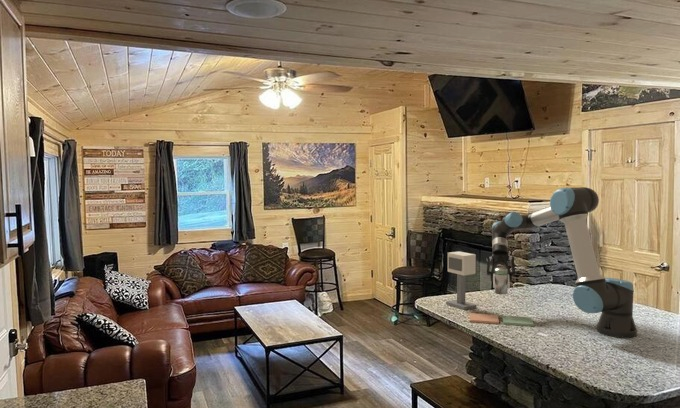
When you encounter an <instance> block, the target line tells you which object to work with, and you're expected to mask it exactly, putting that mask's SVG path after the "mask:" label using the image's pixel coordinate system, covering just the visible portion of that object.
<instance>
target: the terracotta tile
mask: <svg viewBox="0 0 680 408" xmlns="http://www.w3.org/2000/svg"><path fill="white" fill-rule="evenodd" d="M469 323H479V324H495V325H499V323H500V320H499V315H498V314H487V313H486V314H483V313H471V312H470V313H469Z"/></svg>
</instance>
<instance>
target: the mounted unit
mask: <svg viewBox="0 0 680 408" xmlns="http://www.w3.org/2000/svg"><path fill="white" fill-rule="evenodd" d="M476 257H477V255H476V254H475V253H469V252H463V251H451V252H447V272H448V273H451V274H456V299H452V300H447V301H446V302H445V305H447V306H451V307H453V308H456V309H460V310H461V311H466V310H472V309H476V308H477V306H478V305H477V304H476V303H472V302H469V301H466V282H467V281H466V278H467V276H470V275H476V263H477V261H476Z"/></svg>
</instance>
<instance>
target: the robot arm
mask: <svg viewBox="0 0 680 408" xmlns="http://www.w3.org/2000/svg"><path fill="white" fill-rule="evenodd" d="M599 202H600V199H599V195H598V193H597V192H596V191H595V190H594V189H591V188H590V187H586V186H584V187H568V186H567V187H562V188H557V189H556V190H554V192H553V193H552V195H551V197H550V201H549V206H547V207H545V208H542V209H539V210H537V211H534V212H532V213H528V214H520V213H519V212H516V211H511V212H509V213H508V214H507V215H505V217H504V218H503V219H501V220H500V221H496V222H493V224H492V227H491V244H492V246H491V249H492V251H491V252H492V255H491V256H486V262H487V263H486V276H490V281H491V282H492V283H493V284H492V287H493V289H495V268H497V266H498V265H503V267H504V268H507V269H508V281H507V290H508V289H510V288H511V284H510V283H512V281H513V278H512V277H515V276H516V267H515V257H514V256H512V257H511V256H509V248H508V247H509V246H508V243H509V242H508V236H510V234H512V232H514V231H521V230H535V229H540V228H541V226H544V225H546V224H550V223H554V222H555V221H559V222H561V223H562V224H564V227H565V230H566V235H567V239H568V243H569V247H570V251H571V255H572V258H573V259H572V260H573V263H574V267H575V272H576V275H577V279H576V281H575V283H574V284H575V288H574V289H573V292H572V300H573V303H574V304H575V306H576V307H577V308H578V309H579V310H581V312H584V313H586V314H599V313H601V314H600V316H599V319H598V321H597V324H596V331H597V332H598V333H601V334H603V335H606V336H610V337H614V338H623V339H624V338H626V339H627V338H634V337H636V336H637V335H638V329H637V325H636V322H635V320H634V314H633V310H634V309H633V308H634V293H635V291H634V284H633V283H632V282H631V281H629V280H625V279H621V278H614V277H612V278H611V277H605V276H603V275H601V274H600V269H599V265H598V262H597V257H596V254H595V250H594V247H593V243H592V239H591V236H590V231H589V227H588V224H587V218H588V216H589V213H591V212H594V211H595V210H596V209H597V207H598V206H599ZM491 261H493V262H494V263H493V266H492V267H491ZM508 261H509V262H510V265H509V264H508ZM510 266H511V269H510ZM490 268H491V271H490Z"/></svg>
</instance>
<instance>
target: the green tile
mask: <svg viewBox="0 0 680 408" xmlns="http://www.w3.org/2000/svg"><path fill="white" fill-rule="evenodd" d="M501 318H502V324H503V325H510V326H522V327H523V326H524V327H534V325H535V323H534V321H533V319H532V317H531V316H518V315H502V316H501Z"/></svg>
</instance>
